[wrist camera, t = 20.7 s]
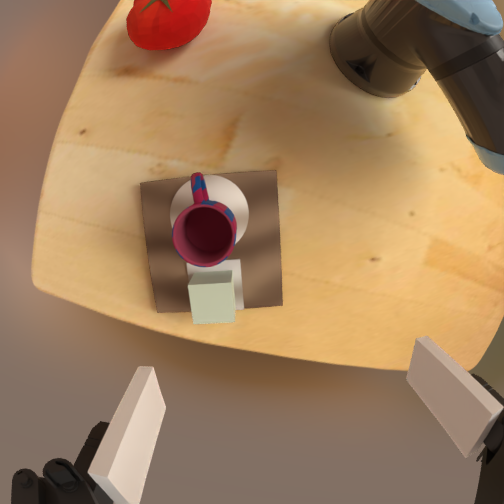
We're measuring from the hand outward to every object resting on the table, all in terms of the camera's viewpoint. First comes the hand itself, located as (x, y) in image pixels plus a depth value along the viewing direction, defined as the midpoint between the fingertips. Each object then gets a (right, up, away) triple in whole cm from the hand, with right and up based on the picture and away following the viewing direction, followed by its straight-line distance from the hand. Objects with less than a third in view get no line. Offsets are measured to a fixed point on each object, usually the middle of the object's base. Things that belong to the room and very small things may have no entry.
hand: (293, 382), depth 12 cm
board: (-7, +7, +25) cm, 27 cm away
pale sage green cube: (-7, +1, +25) cm, 26 cm away
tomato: (-13, +39, +18) cm, 45 cm away
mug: (-7, +11, +23) cm, 26 cm away
